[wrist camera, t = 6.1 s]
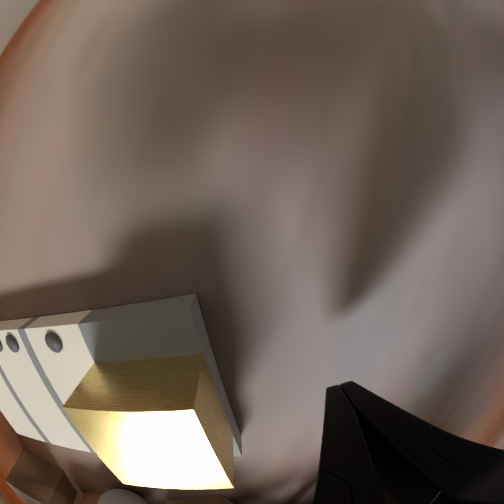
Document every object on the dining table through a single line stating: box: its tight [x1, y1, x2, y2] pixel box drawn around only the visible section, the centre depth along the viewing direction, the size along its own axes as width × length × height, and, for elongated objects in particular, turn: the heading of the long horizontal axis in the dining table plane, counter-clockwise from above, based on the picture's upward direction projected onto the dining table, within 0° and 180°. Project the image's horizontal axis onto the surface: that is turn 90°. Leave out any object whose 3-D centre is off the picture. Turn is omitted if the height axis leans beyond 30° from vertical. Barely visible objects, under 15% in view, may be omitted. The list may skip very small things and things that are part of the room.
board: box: [0, 293, 242, 457], centre depth 9 cm, size 14×7×1 cm, turn 101°
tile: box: [62, 353, 234, 489], centre depth 7 cm, size 4×4×2 cm
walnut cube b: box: [5, 450, 77, 504], centre depth 10 cm, size 4×4×4 cm
